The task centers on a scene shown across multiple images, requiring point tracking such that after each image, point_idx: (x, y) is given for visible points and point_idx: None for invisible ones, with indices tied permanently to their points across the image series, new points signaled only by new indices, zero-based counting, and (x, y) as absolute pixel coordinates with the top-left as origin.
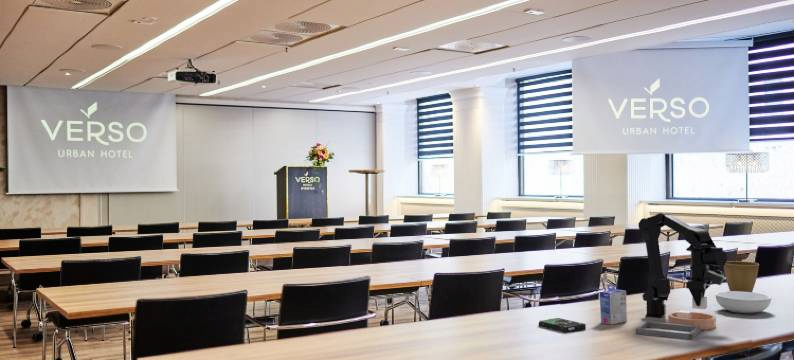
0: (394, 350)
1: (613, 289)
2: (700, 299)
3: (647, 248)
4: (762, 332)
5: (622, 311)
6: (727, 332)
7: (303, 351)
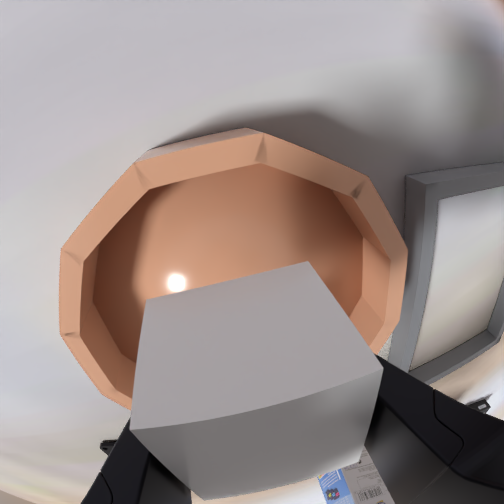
0: None
1: None
2: (413, 379)
3: None
4: None
5: (363, 471)
6: (337, 14)
7: None
